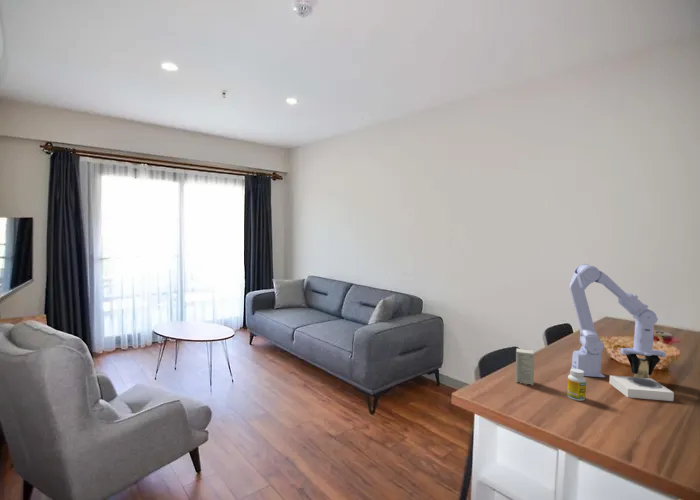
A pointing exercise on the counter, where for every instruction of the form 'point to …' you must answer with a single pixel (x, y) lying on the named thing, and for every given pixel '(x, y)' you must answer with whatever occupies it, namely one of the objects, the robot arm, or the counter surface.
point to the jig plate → (641, 388)
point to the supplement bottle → (576, 385)
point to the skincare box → (525, 366)
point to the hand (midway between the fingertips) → (641, 373)
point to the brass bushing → (643, 368)
